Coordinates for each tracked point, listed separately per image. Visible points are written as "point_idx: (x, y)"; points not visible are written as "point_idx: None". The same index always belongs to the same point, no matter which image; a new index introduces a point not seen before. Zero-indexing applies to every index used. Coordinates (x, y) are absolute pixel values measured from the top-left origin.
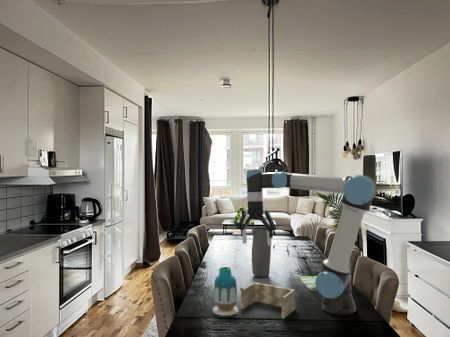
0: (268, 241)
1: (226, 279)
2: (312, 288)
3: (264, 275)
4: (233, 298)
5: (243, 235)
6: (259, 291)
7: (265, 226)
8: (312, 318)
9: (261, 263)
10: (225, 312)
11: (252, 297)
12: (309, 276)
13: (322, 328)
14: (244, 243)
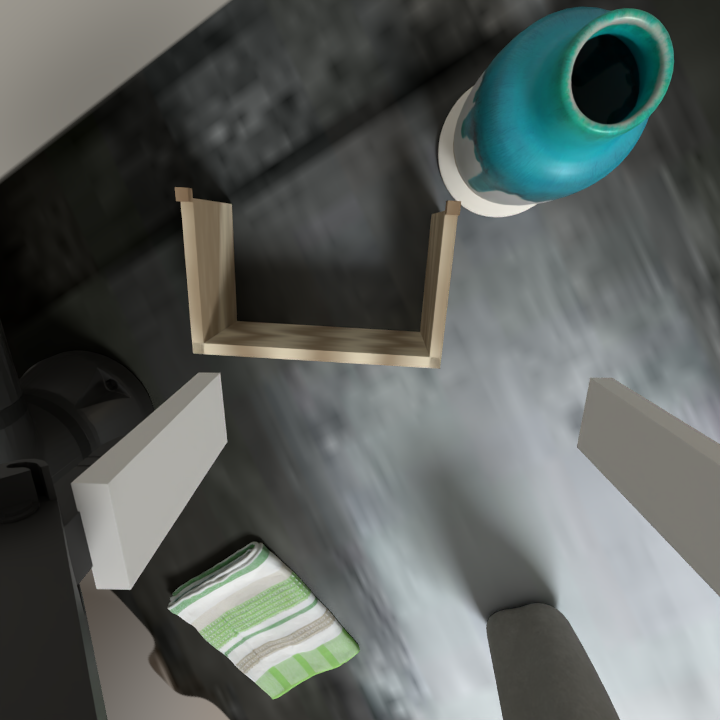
0: (184, 392)
1: (540, 36)
2: (253, 551)
3: (503, 615)
4: (460, 112)
5: (679, 435)
6: (399, 343)
7: (69, 595)
8: (128, 269)
9: (535, 666)
10: None
11: (425, 309)
12: (320, 668)
13: (52, 191)
14: (588, 389)
